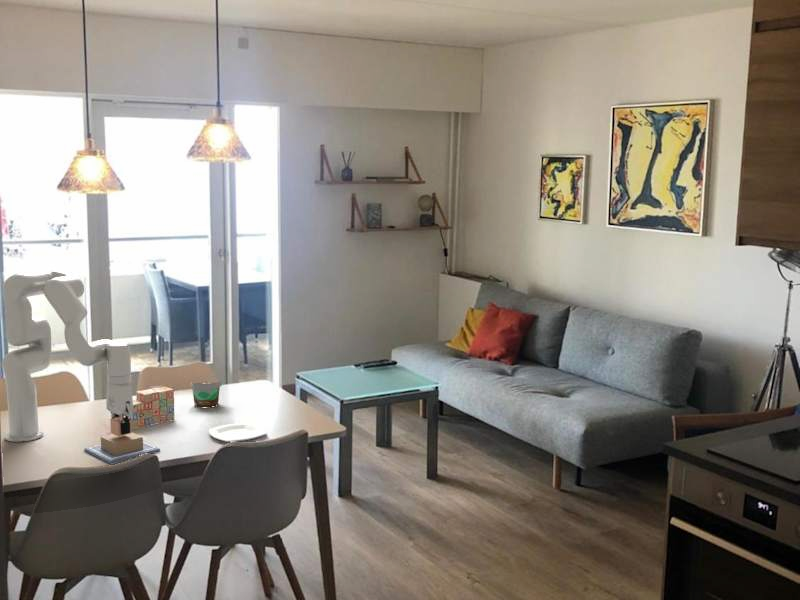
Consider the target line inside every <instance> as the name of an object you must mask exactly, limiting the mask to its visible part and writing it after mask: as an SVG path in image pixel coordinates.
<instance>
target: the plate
mask: <svg viewBox="0 0 800 600" xmlns="http://www.w3.org/2000/svg"><path fill="white" fill-rule="evenodd" d="M208 433H209V435H210V436H211V437H212V438H214V439H216V440H218V441H219V440H220V441H223V442H226V443H228V442H230V441H241V442H246V440H247V441H251V439H252V440H255V439H258V438H260V437H262V436H265V435H267V434H268V432H267V431H266V430H265V428H264V427H262V426H260V425H259V424H254V423H251V422H239V423H238V422H236V423H230V424H224V425H219V426H215V427H211V428H208Z"/></svg>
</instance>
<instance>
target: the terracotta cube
mask: <svg viewBox="0 0 800 600" xmlns="http://www.w3.org/2000/svg"><path fill="white" fill-rule="evenodd" d="M124 418H125V416H124ZM109 420H110V421H109V422H110V434H114V435H116V436H122V434H121V426H120V423H122V422H121V417H116V418H110V419H109ZM131 433H133V429H132V421H130V433H127V434H131ZM123 435H126V434H123Z"/></svg>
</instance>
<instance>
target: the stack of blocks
mask: <svg viewBox="0 0 800 600" xmlns="http://www.w3.org/2000/svg"><path fill="white" fill-rule="evenodd" d="M174 394H175V390H174V389H173V388H171V387H160V388H152V389H149V388H148V389H144V390H143V389H142V390H137V391H136V392H135V396H136V397H135V398H136V399H133V411H132V412H133V416H132V418H131V421H132V430H134V429H138V428H139V429H140V428H142V427H143V426H144V427H147V426H148V425H149V426H152V425H151V424H153V425H157V424H156V423H158V424H162V423H161V422H163V423H167V422H166V421H168V422H171V421H170V420H172V421H175V395H174ZM124 413H127V412H126V411H125V412H124ZM124 416H127V415H124ZM120 417H121V416H120ZM144 427H143V428H144Z"/></svg>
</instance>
